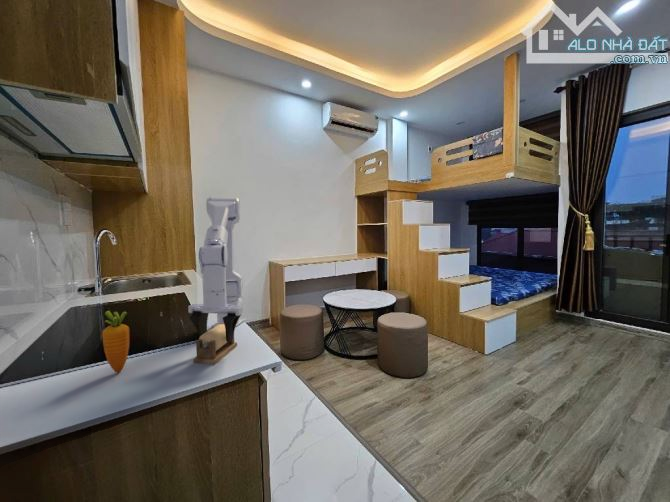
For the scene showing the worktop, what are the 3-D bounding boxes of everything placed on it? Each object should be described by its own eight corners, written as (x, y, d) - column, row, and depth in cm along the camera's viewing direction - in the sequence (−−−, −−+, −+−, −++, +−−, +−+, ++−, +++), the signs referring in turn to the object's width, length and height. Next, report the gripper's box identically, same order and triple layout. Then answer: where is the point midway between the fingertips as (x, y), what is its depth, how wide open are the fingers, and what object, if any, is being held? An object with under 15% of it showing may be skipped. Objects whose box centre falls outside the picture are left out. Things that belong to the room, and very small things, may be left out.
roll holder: (193, 362, 71) (192, 341, 71) (218, 344, 82) (217, 326, 82) (215, 364, 70) (214, 342, 70) (237, 345, 81) (236, 327, 81)
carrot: (136, 368, 68) (133, 307, 67) (119, 379, 63) (115, 313, 62) (118, 367, 69) (114, 307, 68) (99, 377, 64) (94, 313, 63)
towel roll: (197, 358, 72) (192, 337, 71) (219, 342, 81) (214, 324, 81) (216, 354, 71) (211, 333, 70) (236, 339, 81) (231, 320, 80)
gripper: (179, 292, 72) (181, 343, 73) (232, 294, 70) (233, 347, 71) (197, 286, 79) (198, 333, 80) (245, 288, 77) (246, 336, 78)
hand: (216, 339), depth 76 cm, fingers open, 7 cm apart
